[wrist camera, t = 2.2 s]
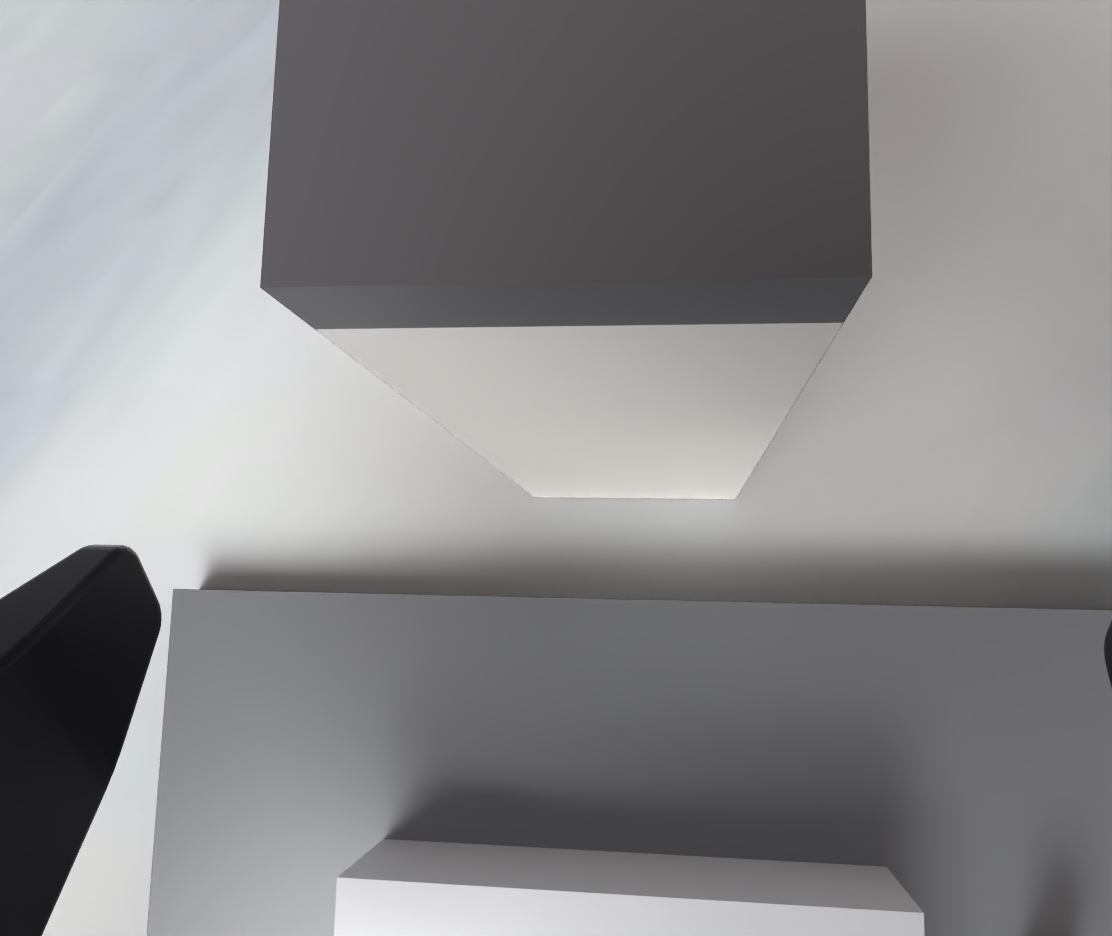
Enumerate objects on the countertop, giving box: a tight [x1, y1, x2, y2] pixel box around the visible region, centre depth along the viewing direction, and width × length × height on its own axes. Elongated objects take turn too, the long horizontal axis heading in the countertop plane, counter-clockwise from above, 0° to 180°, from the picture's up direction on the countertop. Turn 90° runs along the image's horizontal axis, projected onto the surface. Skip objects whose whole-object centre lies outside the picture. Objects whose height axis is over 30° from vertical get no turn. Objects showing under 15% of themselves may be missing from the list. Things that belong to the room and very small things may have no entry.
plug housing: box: [260, 0, 872, 499], centre depth 13 cm, size 4×4×13 cm
